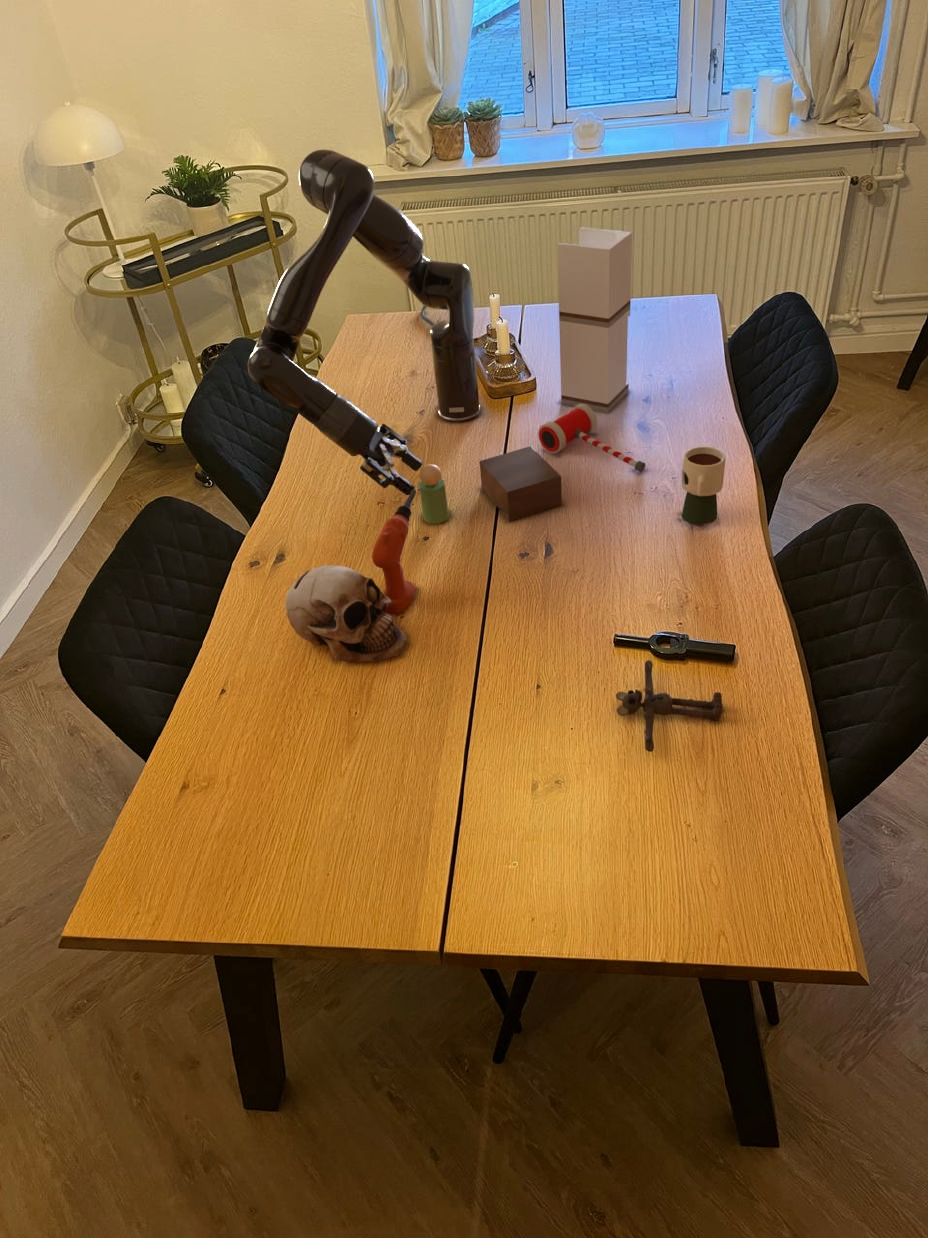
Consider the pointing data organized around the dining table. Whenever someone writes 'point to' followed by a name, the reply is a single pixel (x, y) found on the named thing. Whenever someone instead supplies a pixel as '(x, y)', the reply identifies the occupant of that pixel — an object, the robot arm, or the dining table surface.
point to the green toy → (433, 495)
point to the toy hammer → (578, 434)
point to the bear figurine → (664, 705)
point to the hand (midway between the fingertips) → (415, 479)
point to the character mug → (702, 483)
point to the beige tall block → (594, 317)
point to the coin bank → (344, 614)
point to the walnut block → (521, 483)
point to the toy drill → (395, 557)
